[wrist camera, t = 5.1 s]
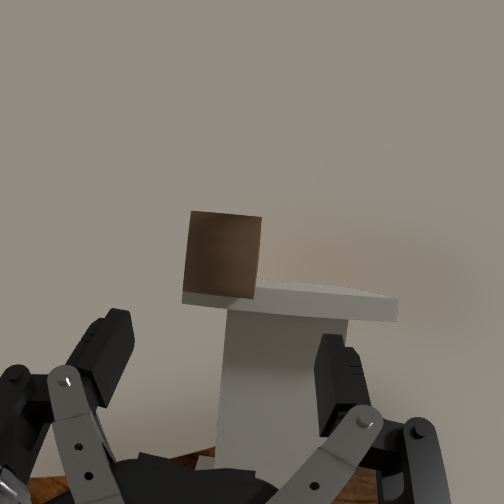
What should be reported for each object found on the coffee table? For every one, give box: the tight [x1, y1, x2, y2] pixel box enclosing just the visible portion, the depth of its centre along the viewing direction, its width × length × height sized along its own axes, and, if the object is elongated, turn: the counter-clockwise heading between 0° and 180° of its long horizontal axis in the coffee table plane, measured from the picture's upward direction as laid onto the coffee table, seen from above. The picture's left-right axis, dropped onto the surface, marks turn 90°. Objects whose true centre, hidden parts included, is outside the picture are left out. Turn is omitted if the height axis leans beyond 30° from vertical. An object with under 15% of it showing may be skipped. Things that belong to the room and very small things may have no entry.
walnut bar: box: [183, 211, 262, 299], centre depth 28 cm, size 4×25×4 cm, turn 179°
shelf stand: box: [182, 279, 399, 490], centre depth 33 cm, size 18×17×30 cm
